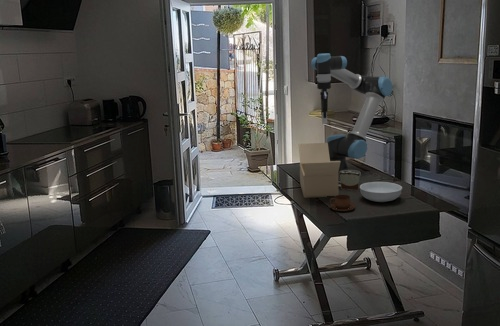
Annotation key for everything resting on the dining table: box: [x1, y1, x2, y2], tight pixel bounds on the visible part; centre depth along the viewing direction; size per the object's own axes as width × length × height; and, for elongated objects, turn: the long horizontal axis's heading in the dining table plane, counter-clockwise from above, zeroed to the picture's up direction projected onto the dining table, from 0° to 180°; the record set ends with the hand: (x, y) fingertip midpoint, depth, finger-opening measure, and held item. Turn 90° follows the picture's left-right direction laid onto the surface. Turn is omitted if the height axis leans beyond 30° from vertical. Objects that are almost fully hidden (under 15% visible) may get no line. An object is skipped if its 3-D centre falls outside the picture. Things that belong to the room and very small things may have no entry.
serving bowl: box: [359, 181, 403, 203], centre depth 243 cm, size 21×21×7 cm
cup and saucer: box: [329, 194, 356, 212], centre depth 232 cm, size 12×12×6 cm
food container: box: [338, 169, 362, 191], centre depth 264 cm, size 12×6×10 cm, turn 65°
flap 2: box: [304, 161, 340, 177], centre depth 244 cm, size 17×14×1 cm
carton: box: [299, 162, 339, 199], centre depth 265 cm, size 18×28×12 cm, turn 178°
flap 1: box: [298, 142, 330, 164], centre depth 281 cm, size 17×14×1 cm
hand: (324, 123), depth 274 cm, fingers closed
